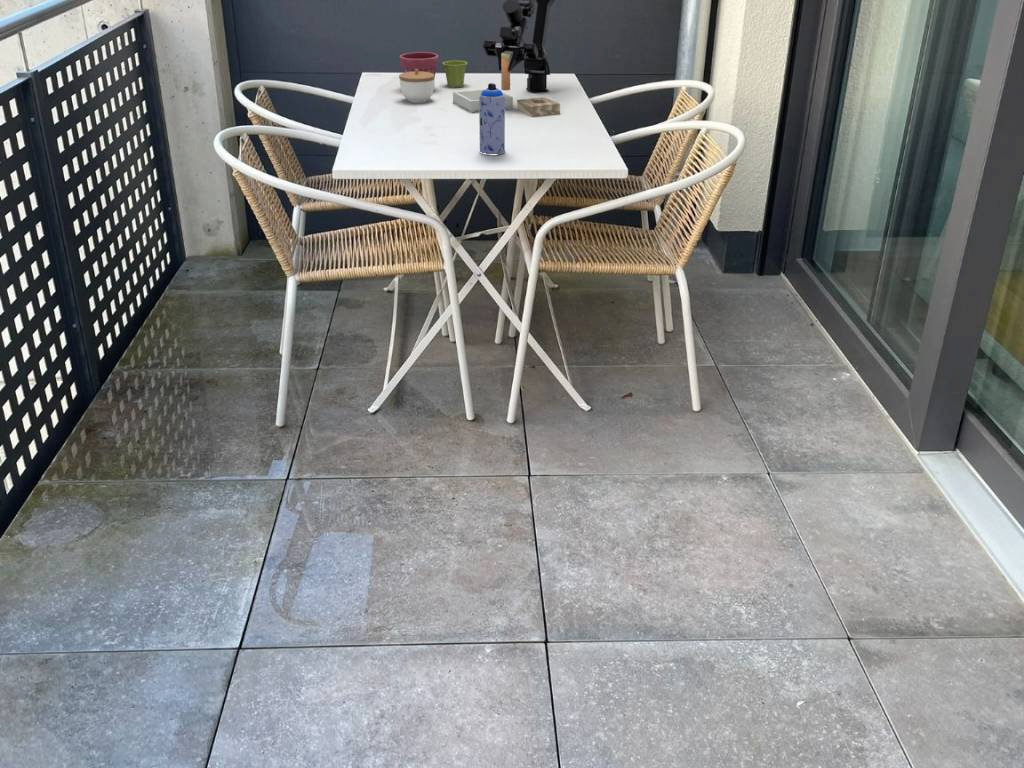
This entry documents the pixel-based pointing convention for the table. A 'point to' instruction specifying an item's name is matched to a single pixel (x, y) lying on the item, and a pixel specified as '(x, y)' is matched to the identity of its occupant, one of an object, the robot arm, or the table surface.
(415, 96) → the lidded bowl
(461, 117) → the table surface
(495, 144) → the aerosol can
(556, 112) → the hitch block
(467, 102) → the tray
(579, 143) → the table surface
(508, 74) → the pin
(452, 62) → the plant pot
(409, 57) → the plant pot
